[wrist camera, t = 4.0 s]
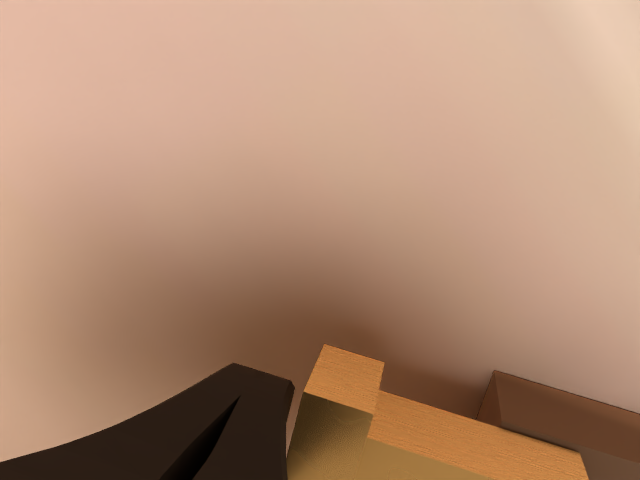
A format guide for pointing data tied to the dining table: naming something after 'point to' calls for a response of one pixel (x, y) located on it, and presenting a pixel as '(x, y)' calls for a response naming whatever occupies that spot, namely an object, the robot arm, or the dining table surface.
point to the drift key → (404, 435)
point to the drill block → (567, 424)
